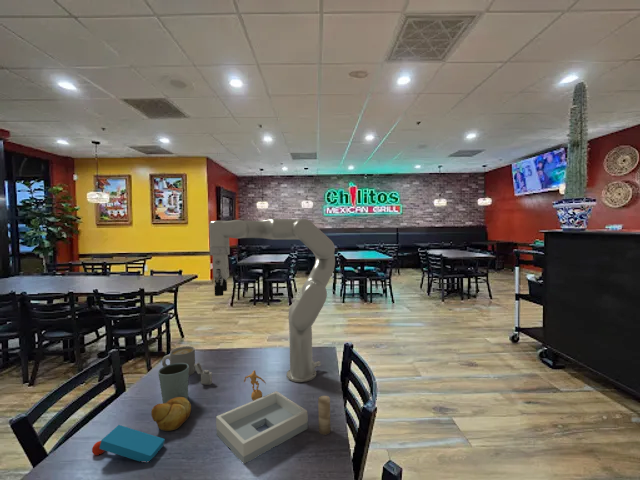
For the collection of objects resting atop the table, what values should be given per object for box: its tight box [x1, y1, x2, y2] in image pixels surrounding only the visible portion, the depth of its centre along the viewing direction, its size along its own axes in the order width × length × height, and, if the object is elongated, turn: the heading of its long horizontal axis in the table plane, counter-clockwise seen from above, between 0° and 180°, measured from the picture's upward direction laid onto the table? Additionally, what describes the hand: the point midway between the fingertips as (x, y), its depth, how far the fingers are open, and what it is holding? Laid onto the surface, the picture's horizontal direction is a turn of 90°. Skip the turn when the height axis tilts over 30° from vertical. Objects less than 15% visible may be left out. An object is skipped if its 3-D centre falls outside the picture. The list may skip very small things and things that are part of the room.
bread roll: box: [150, 397, 192, 432], centre depth 103 cm, size 13×10×8 cm
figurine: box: [243, 370, 267, 401], centre depth 113 cm, size 8×6×12 cm
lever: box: [91, 424, 165, 462], centre depth 88 cm, size 7×7×18 cm
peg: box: [317, 395, 331, 436], centre depth 96 cm, size 4×4×10 cm
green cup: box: [157, 363, 189, 404], centre depth 116 cm, size 10×10×12 cm
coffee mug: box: [161, 345, 196, 376], centre depth 139 cm, size 13×10×10 cm
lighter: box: [194, 362, 213, 386], centre depth 129 cm, size 7×2×8 cm, turn 76°
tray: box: [215, 390, 309, 464], centre depth 97 cm, size 22×17×6 cm
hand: (221, 293), depth 128 cm, fingers open, 9 cm apart
